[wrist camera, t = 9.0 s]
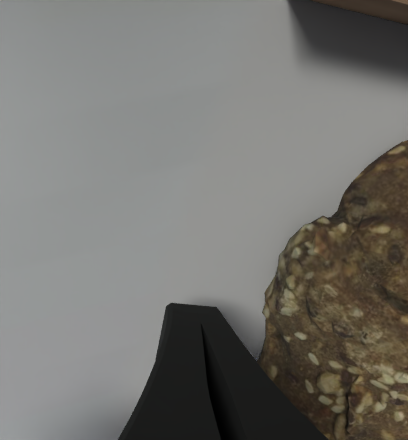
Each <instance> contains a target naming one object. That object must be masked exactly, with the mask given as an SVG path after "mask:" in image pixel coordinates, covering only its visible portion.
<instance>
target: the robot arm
mask: <svg viewBox="0 0 408 440" xmlns="http://www.w3.org/2000/svg"><path fill="white" fill-rule="evenodd" d="M118 440H329V439H328V438H327V437H326V436H324V435H323V434H322V433H321V432H320V431H319V430H318V429H317V428H316V427H315V426H314V425H313V424H312V423H311V422H310V421H309V420H308V419H307V418H306V417H305V416H304V415H303V414H302V413H301V412H300V411H299V410H298V409H297V408H296V407H295V406H294V405H293V404H292V403H291V402H290V400H289V399H288V398H287V397H286V396H285V395H284V394H283V393H282V392H281V390H280V389H279V388H278V387H277V386H276V385H275V384H274V382H273V381H272V380H271V379H270V378H269V377H268V375H267V374H266V373H265V372H264V371H263V369H262V368H261V367H260V366H259V364H258V363H257V362H256V360H255V359H254V358H253V357H252V355H251V354H250V353H249V351H248V350H247V349H246V347H245V346H244V345H243V343H242V342H241V341H240V339H239V338H238V336H237V335H236V334H235V332H234V331H233V329H232V328H231V327H230V325H229V324H228V322H227V321H226V320H225V318H224V317H223V315H222V314H221V313H220V311H219V310H218V308H217V307H209V306H198V305H188V304H177V303H170V304H169V305H167V306H166V310H165V315H164V320H163V325H162V330H161V335H160V340H159V345H158V350H157V355H156V361H155V364H154V366H153V369H152V371H151V374H150V376H149V379H148V381H147V383H146V386H145V388H144V390H143V392H142V395H141V397H140V399H139V401H138V403H137V405H136V407H135V409H134V411H133V413H132V415H131V417H130V419H129V421H128V423H127V425H126V426H125V428H124V430H123V432H122V433H121V435H120V437H119V439H118Z"/></svg>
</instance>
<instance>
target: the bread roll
mask: <svg viewBox="0 0 408 440" xmlns="http://www.w3.org/2000/svg"><path fill="white" fill-rule="evenodd" d="M265 302H266V303H265V306H264V309H263V312H262V313H263V314H264V315H265V317H266V338H265V342H264V346H263V350H262V353H261V356H260V358H259V359H258V361H257V363H258V364H259V366H260V367H261V368H262V369H263V371H264V372H265V373H266V374H267V375H268V377H269V378H270V379H271V380H272V381H273V382H274V384H275V385H276V386H277V387H278V388H279V389H280V390H281V392H282V393H283V394H284V395H285V396H286V397H287V398H288V399H289V400H290V402H291V403H292V404H293V405H294V406H295V407H296V408H297V409H298V410H299V411H300V412H301V413H302V414H303V415H304V416H305V417H306V418H307V419H308V420H309V421H310V422H311V423H312V424H313V425H314V426H315V427H316V428H317V429H318V430H319V431H320V432H321V433H322V434H323V435H324V436H326V437H327V438H328V439H329V440H408V140H407V141H404V142H401V143H400V144H398V145H396V146H395V147H393V148H392V149H390V150H389V151H387V152H386V153H384V154H383V155H382V156H380V157H379V158H378V159H376V160H375V161H374V162H372V163H371V164H370V165H368V166H367V167H366V168H365V169H364V170H363V171H362V172H361V173H360V174H359V175H358V176H357V177H356V179H355V180H354V181H353V182H352V183H351V184H350V186H349V187H348V188H347V190H346V191H345V193H344V194H343V197H342V199H341V202H340V205H339V208H338V211H337V212H336V213H335V214H334V215H333V216H332V217H328V218H327V217H325V216H322V217H320V218H318V219H317V220H315V221H313V222H311V223H309V224H305V225H304V226H303V227H302V228H301V229H300V230H299V231H298V232H296V233H295V234H294V235H293V236H292V237H291V238H290V239H289V241H288V243H287V246H286V248H285V250H284V251H283V252H282V253H281V254H280V255H279V264H278V269H277V273H276V275H275V277H274V279H273V280H272V282H271V284H270V285H269V287H268V288H267V290H266V291H265Z"/></svg>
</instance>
